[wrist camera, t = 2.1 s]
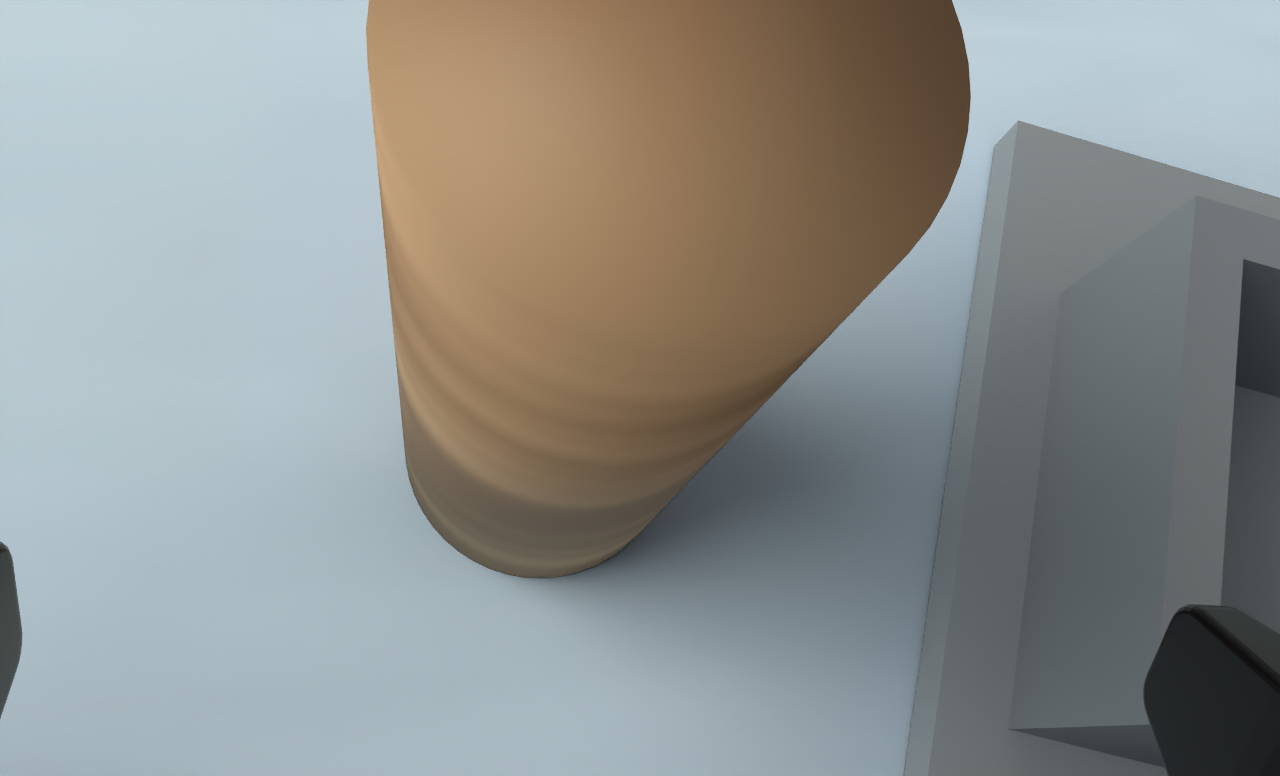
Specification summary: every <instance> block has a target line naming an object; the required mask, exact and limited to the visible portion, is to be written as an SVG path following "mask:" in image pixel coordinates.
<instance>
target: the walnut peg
mask: <svg viewBox="0 0 1280 776" xmlns="http://www.w3.org/2000/svg"><path fill="white" fill-rule="evenodd" d="M366 35H367V55H368V71H369V82H370V92H371V102H372V113H373V123H374V134H375V144H376V155H377V165H378V176H379V186H380V196H381V207H382V217H383V228H384V238H385V249H386V259H387V269H388V280H389V290H390V301H391V311H392V322H393V332H394V343H395V353H396V363H397V374H398V384H399V395H400V405H401V416H402V426H403V437H404V447H405V457H406V465H407V470H408V476H409V480H410V483H411V486H412V489H413V492H414V495H415V497H416V499H417V501H418V503H419V505H420V507H421V509H422V511H423V513H424V514H425V516H426V517H427V519H428V520H429V522H430V523H431V525H432V526H433V527H434V528H435V530H436V531H437V532H438V533H439V534H440V535H441V536H442V537H443V538H444V540H446V541H447V542H448V543H449V544H450V545H451V546H453V547H454V548H455V549H456V550H457V551H459V552H460V553H462V554H463V555H465V556H466V557H468V558H469V559H471V560H472V561H474V562H476V563H479V564H481V565H483V566H485V567H487V568H489V569H492V570H495V571H498V572H502V573H505V574H509V575H514V576H520V577H529V578H550V577H560V576H565V575H570V574H574V573H578V572H581V571H584V570H586V569H589V568H592V567H594V566H596V565H598V564H600V563H602V562H604V561H606V560H608V559H609V558H611V557H612V556H614V555H615V554H617V553H618V552H619V551H621V550H622V549H624V548H625V547H626V546H627V545H628V544H629V543H630V542H631V541H632V540H633V539H634V538H635V537H636V536H637V535H638V534H639V533H640V532H641V531H642V530H643V529H644V528H645V527H646V526H647V525H648V524H649V523H650V522H651V521H652V520H653V519H654V518H655V517H656V516H657V515H658V514H659V512H660V511H661V510H662V509H663V508H664V507H665V506H666V505H667V504H668V503H669V502H670V501H671V500H672V499H673V498H674V497H675V496H676V495H677V494H678V493H679V492H680V491H681V490H682V489H683V488H684V486H685V485H686V484H687V483H688V482H689V481H690V480H691V479H692V478H693V477H694V476H695V475H696V474H697V473H698V472H699V471H700V470H701V469H702V468H703V467H704V466H705V465H706V464H707V463H708V461H709V460H710V459H711V458H712V457H713V456H714V455H715V454H716V453H717V452H718V451H719V450H720V449H721V448H722V447H723V446H724V445H725V444H726V443H727V442H728V441H729V440H730V439H731V438H732V437H733V435H734V434H735V433H736V432H737V431H738V430H739V429H740V428H741V427H742V426H743V425H744V424H745V423H746V422H747V421H748V420H749V419H750V418H751V417H752V416H753V415H754V414H755V413H756V412H757V411H758V409H759V408H760V407H761V406H762V405H763V404H764V403H765V402H766V401H767V400H768V399H769V398H770V397H771V396H772V395H773V394H774V393H775V392H776V391H777V390H778V389H779V388H780V387H781V386H782V384H783V383H784V382H785V381H786V380H787V379H788V378H789V377H790V376H791V375H792V374H793V373H794V372H795V371H796V370H797V369H798V368H799V367H800V366H801V365H802V364H803V363H804V362H805V361H806V360H807V358H808V357H809V356H810V355H811V354H812V353H813V352H814V351H815V350H816V349H817V348H818V347H819V346H820V345H821V344H822V343H823V342H824V341H825V340H826V339H827V338H828V337H829V336H830V335H831V334H832V332H833V331H834V330H835V329H836V328H837V327H838V326H839V325H840V324H841V323H842V322H843V321H844V320H845V319H846V318H847V317H848V316H849V315H850V314H851V313H852V312H853V311H854V310H855V309H856V307H857V306H858V305H859V304H860V303H861V302H862V301H863V300H864V299H865V298H866V297H867V296H868V295H869V294H870V293H871V292H872V291H873V290H874V289H875V288H876V287H877V286H878V285H879V284H880V283H881V281H882V280H883V279H884V278H885V277H886V276H887V275H888V274H889V273H890V272H891V271H892V270H893V269H894V268H895V267H896V266H897V265H898V264H899V263H900V262H901V261H902V260H903V259H904V258H905V257H906V255H907V254H908V253H909V252H910V251H911V250H912V248H913V247H914V246H915V245H916V243H917V242H918V241H919V240H920V238H921V237H922V236H923V235H924V233H925V232H926V231H927V230H928V229H929V227H930V226H931V224H932V222H933V221H934V219H935V217H936V216H937V214H938V212H939V210H940V209H941V207H942V205H943V204H944V202H945V200H946V198H947V197H948V194H949V192H950V189H951V187H952V184H953V182H954V179H955V177H956V174H957V171H958V169H959V166H960V163H961V159H962V155H963V150H964V146H965V142H966V137H967V133H968V123H969V111H970V98H971V96H970V80H969V64H968V59H967V54H966V49H965V44H964V39H963V34H962V29H961V26H960V23H959V20H958V17H957V14H956V12H955V9H954V6H953V3H952V0H369V7H368V17H367V26H366Z"/></svg>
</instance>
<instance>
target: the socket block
mask: <svg viewBox="0 0 1280 776" xmlns="http://www.w3.org/2000/svg"><path fill="white" fill-rule="evenodd" d="M1189 604H1199V605H1218V606H1229V607H1233V608H1236V609H1238V610H1240V611H1242V612H1243V613H1245V614H1247V615H1249V616H1250V617H1252V618H1254V619H1255V620H1257V621H1259V622H1260V623H1262V624H1264V625H1266V626H1267V627H1269V628H1271V629H1272V630H1274V631H1276V632H1277V633H1279V634H1280V198H1278V197H1275V196H1271V195H1268V194H1265V193H1261V192H1258V191H1254V190H1251V189H1248V188H1244V187H1241V186H1238V185H1234V184H1231V183H1227V182H1224V181H1221V180H1217V179H1214V178H1210V177H1207V176H1204V175H1200V174H1197V173H1194V172H1190V171H1187V170H1183V169H1180V168H1177V167H1173V166H1170V165H1167V164H1163V163H1160V162H1156V161H1153V160H1150V159H1146V158H1143V157H1139V156H1136V155H1133V154H1129V153H1126V152H1123V151H1119V150H1116V149H1112V148H1109V147H1106V146H1102V145H1099V144H1096V143H1092V142H1089V141H1085V140H1082V139H1079V138H1075V137H1072V136H1068V135H1065V134H1062V133H1058V132H1055V131H1052V130H1048V129H1045V128H1041V127H1038V126H1035V125H1031V124H1028V123H1025V122H1021V121H1017V122H1016V124H1015V125H1014V126H1013V127H1012V128H1011V129H1010V130H1009V131H1008V132H1007V133H1006V134H1005V135H1004V136H1003V138H1002V139H1001V140H1000V141H999V142H998V143H997V144H996V145H995V146H994V152H993V159H992V165H991V172H990V179H989V186H988V193H987V200H986V207H985V214H984V221H983V228H982V235H981V242H980V249H979V256H978V262H977V269H976V276H975V283H974V290H973V297H972V304H971V311H970V318H969V325H968V332H967V339H966V346H965V353H964V360H963V366H962V373H961V380H960V387H959V394H958V401H957V408H956V415H955V422H954V429H953V436H952V443H951V450H950V457H949V463H948V470H947V477H946V484H945V491H944V498H943V505H942V512H941V519H940V526H939V533H938V540H937V547H936V554H935V560H934V567H933V574H932V581H931V588H930V595H929V602H928V609H927V616H926V623H925V630H924V637H923V644H922V651H921V657H920V664H919V671H918V678H917V685H916V692H915V699H914V706H913V713H912V720H911V727H910V734H909V741H908V748H907V755H906V761H905V768H904V775H903V776H1167V773H1166V770H1165V767H1164V764H1163V761H1162V758H1161V755H1160V753H1159V750H1158V747H1157V744H1156V741H1155V738H1154V735H1153V732H1152V729H1151V726H1150V723H1149V721H1148V718H1147V715H1146V711H1145V707H1144V701H1143V688H1144V682H1145V678H1146V675H1147V673H1148V671H1149V668H1150V666H1151V664H1152V662H1153V659H1154V657H1155V655H1156V652H1157V650H1158V648H1159V646H1160V643H1161V641H1162V639H1163V637H1164V634H1165V632H1166V630H1167V627H1168V625H1169V623H1170V621H1171V619H1172V617H1173V615H1174V614H1175V613H1176V612H1177V611H1178V610H1179V609H1180V608H1181V607H1183V606H1186V605H1189Z"/></svg>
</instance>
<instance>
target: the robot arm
mask: <svg viewBox="0 0 1280 776" xmlns="http://www.w3.org/2000/svg"><path fill="white" fill-rule="evenodd" d="M21 647H22V626H21V619H20V611H19V604H18V596H17V589H16V582H15V574H14V567H13V560H12V556H11V554H10V551H9V549H8V547H7V546H6V545H4V544H3V543H2V542H0V718H1V715H2V712H3V709H4V706H5V703H6V700H7V697H8V694H9V691H10V688H11V685H12V682H13V679H14V676H15V673H16V670H17V667H18V663H19V659H20V654H21ZM1143 701H1144V707H1145V711H1146V715H1147V718H1148V721H1149V723H1150V726H1151V729H1152V732H1153V735H1154V738H1155V741H1156V744H1157V747H1158V750H1159V753H1160V755H1161V758H1162V761H1163V764H1164V767H1165V770H1166V773H1167V776H1280V634H1279V633H1277V632H1276V631H1274V630H1272V629H1271V628H1269V627H1267V626H1266V625H1264V624H1262V623H1260V622H1259V621H1257V620H1255V619H1254V618H1252V617H1250V616H1249V615H1247V614H1245V613H1243V612H1242V611H1240V610H1238V609H1236V608H1233V607H1229V606H1218V605H1199V604H1189V605H1186V606H1183V607H1181V608H1180V609H1179V610H1178V611H1177V612H1176V613H1175V614H1174V615H1173V617H1172V619H1171V621H1170V623H1169V625H1168V627H1167V630H1166V632H1165V634H1164V637H1163V639H1162V641H1161V643H1160V646H1159V648H1158V650H1157V652H1156V655H1155V657H1154V659H1153V662H1152V664H1151V666H1150V668H1149V671H1148V673H1147V675H1146V678H1145V682H1144V688H1143Z"/></svg>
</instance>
